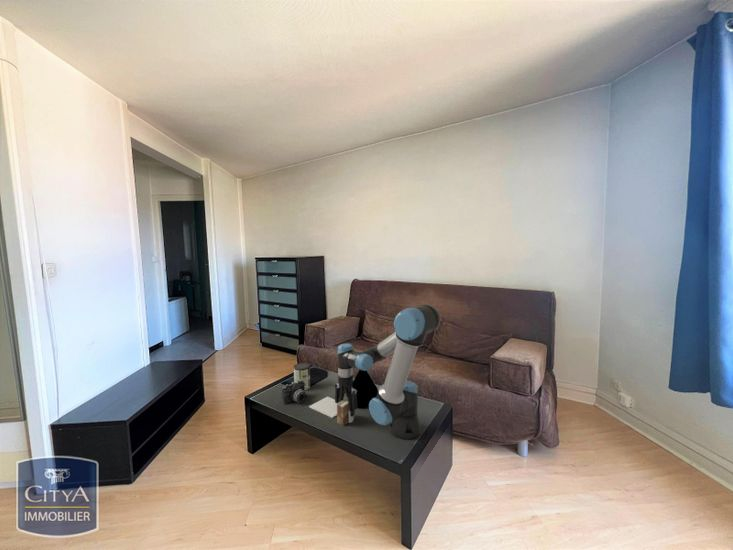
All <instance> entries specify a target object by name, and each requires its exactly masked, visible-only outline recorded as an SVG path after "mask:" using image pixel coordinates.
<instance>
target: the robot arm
mask: <svg viewBox="0 0 733 550" xmlns="http://www.w3.org/2000/svg"><path fill="white" fill-rule="evenodd" d="M441 320H442V319H441V314H440V312H439V310H437V308H436V307H434V306H432V305H430V304H422V305H418V306H414V307H407V308H405V309H402V310H401V311H400V312H398V313H397V314H396V315H395V318H394V321H393V327H394V332H393V333H392V334H390V335H389V336H388V337H386V338H384V339H382V340H381V341H380V342H379V343H378V344H376V345H374V346H373V347H371V348H367V349H365V350H362V351H358V350H354V348H353V347H354V346H353V345H352V344H351V343H342V344H340V345H338V346H337V383H335V384H334V389H335V392H334V393H335V395H334V399H335V403H339V402H340V401H342V400H344V399H345V398H347V399H348V404H349V408H350V409H349V422H348V423H349V424H350V423H353V422H354V419H353V416H354V410H355V411H356V410H357V409H358V408H357V391H358V390H357V389H356V390H355V389H354V388H353V386H352V383H353V381H354V368H355V369H357V370H358V371H359V370H364V371H367V372H368V371H369V370H370V369H371V368H372V367H373V365H374V364H376V363H379V362H383V361H384V360H386V359H387V358H388V356H390V355H392V354H393V355H392V358H391V361H390V364H389V367H388V370H387V374H386V376H385V380H384V383H383V384H381V385H380V386H379V387H378V393H377V396H376V397H375V398H373V399H372V400H371V401H370V403H369V408H368V410H369V413H370V416H371V417H372V419H373V420H374V421H375V423H377V424H378V425H380V426H387V425H388V426H389V432H390V433H391V434H392V436H394V437H396V438H398V439H402V440H412V439H415V437H416V438H418V437H419V436H420V435H421V434H420V433H422V424H421V421H420V416H419V415H418V414H419V413H418V406H419V405H418V400H419V398H418V397H419V395H418V394H419V391H418V385H417V384H416V383H415V382H414V381H411V380H408V377H409V375H410V372H411V369H412V365H413V363H414V360H415V358H416V353H417V352H418V351H417V350H418V349H419V347H422V346H423V345H424V342H425V340H426V337H427V334H430V333H432V332H434V331H436V330H437V329H438V328H439V326H440V325H441ZM345 396H346V397H345ZM419 434H420V435H419ZM418 435H419V436H418ZM417 436H418V437H417Z"/></svg>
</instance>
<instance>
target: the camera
mask: <svg viewBox="0 0 733 550" xmlns="http://www.w3.org/2000/svg"><path fill="white" fill-rule="evenodd" d="M280 393H281V395H280V397H281V404H282V405H286V404H288V403H291V402H293V401H294V402H297V403H298V404H301V403H304V402H305V401H306V399H307V393H306V390H305V385H304V381H303V380H300V381H299V382H295V381H294V380H293V382H291V383H290V384H288V383H287V384H286V385H284V386H282V387H281V389H280Z"/></svg>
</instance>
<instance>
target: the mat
mask: <svg viewBox="0 0 733 550" xmlns="http://www.w3.org/2000/svg"><path fill="white" fill-rule="evenodd" d="M308 408H310V409H312V410H314V411H317V412H318V413H321V414H323V415H325V416H327V417H328V418H331V419H333V418H335V417H336V416H337V403H335V398H332V397H330V396H326V397H324V398H322V399H320V400H319V401H317V402H314V403H313V404H311V405H309V406H308Z"/></svg>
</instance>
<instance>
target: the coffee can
mask: <svg viewBox="0 0 733 550" xmlns="http://www.w3.org/2000/svg"><path fill="white" fill-rule="evenodd" d="M300 380H303V381H304V385H305V391H307V390H308V389H311V365H310V363H307V362H301V363H296V364H295V365H293V382H294V381H295V382H299V381H300Z"/></svg>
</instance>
